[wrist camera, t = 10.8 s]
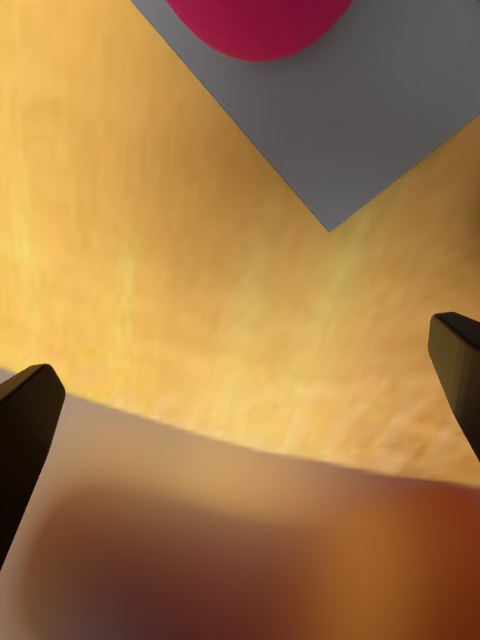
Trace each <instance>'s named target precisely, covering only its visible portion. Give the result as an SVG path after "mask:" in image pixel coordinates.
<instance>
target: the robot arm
mask: <svg viewBox="0 0 480 640" xmlns="http://www.w3.org/2000/svg"><path fill="white" fill-rule="evenodd" d="M428 351H429V355H430V358H431V360H432V363H433V365H434V368H435V370H436V373H437V375H438V378H439V380H440V383H441V385H442V388H443V390H444V392H445V395H446V397H447V400H448V402H449V405H450V407H451V409H452V412H453V414H454V416H455V418H456V420H457V422H458V424H459V426H460V427H461V429H462V431H463V433H464V435H465V436H466V438H467V440H468V442H469V444H470V445H471V447H472V449H473V451H474V453H475V454H476V456H477V458H478V460H479V462H480V322H478V321H475V320H473V319H470V318H468V317H465V316H463V315H460V314H458V313H455V312H446V313H438V314H434V315H433V316H432V318H431V321H430V330H429V340H428ZM64 400H65V388H64V386H63V384H62V383H61V381H60V379H59V377H58V376H57V374H56V372H55V370H54V369H53V367H52V366H51V365H49V364H38V365H32V366H30V367H28V368H26V369H25V370H23V371H21V372H20V373H18V374H16V375H15V376H13V377H11V378H10V379H8V380H6V381H5V382H3V383H1V384H0V571H1V568H2V566H3V563H4V561H5V558H6V556H7V553H8V551H9V549H10V546H11V544H12V541H13V539H14V536H15V534H16V532H17V529H18V527H19V524H20V522H21V519H22V517H23V514H24V512H25V509H26V507H27V505H28V502H29V500H30V497H31V495H32V492H33V490H34V487H35V485H36V482H37V480H38V478H39V475H40V473H41V470H42V468H43V466H44V463H45V461H46V458H47V455H48V453H49V449H50V447H51V443H52V440H53V437H54V433H55V430H56V427H57V423H58V420H59V416H60V413H61V410H62V406H63V403H64Z"/></svg>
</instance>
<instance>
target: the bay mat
mask: <svg viewBox="0 0 480 640" xmlns="http://www.w3.org/2000/svg"><path fill="white" fill-rule="evenodd" d="M131 1H132V2H133V3H134V5H135V6H136V7H137V8H138V9H139V10H140V12H141V13H142V14H143V15H144V16H145V18H146V19H147V20H148V21H149V22H150V23H151V25H152V26H153V27H154V28H155V29H156V30H157V32H158V33H159V34H160V35H161V36H162V37H163V39H164V40H165V41H166V42H167V43H168V44H169V46H170V47H171V48H172V49H173V50H174V51H175V53H176V54H177V55H178V56H179V57H180V59H181V60H182V61H183V62H184V63H185V64H186V66H187V67H188V68H189V69H190V70H191V71H192V73H193V74H194V75H195V76H196V77H197V78H198V80H199V81H200V82H201V83H202V84H203V85H204V87H205V88H206V89H207V90H208V91H209V92H210V94H211V95H212V96H213V97H214V98H215V100H216V101H217V102H218V103H219V104H220V105H221V107H222V108H223V109H224V110H225V111H226V112H227V114H228V115H229V116H230V117H231V118H232V119H233V121H234V122H235V123H236V124H237V125H238V126H239V128H240V129H241V130H242V131H243V132H244V133H245V135H246V136H247V137H248V138H249V139H250V141H251V142H252V143H253V144H254V145H255V146H256V148H257V149H258V150H259V151H260V152H261V153H262V155H263V156H264V157H265V158H266V159H267V160H268V162H269V163H270V164H271V165H272V166H273V167H274V169H275V170H276V171H277V172H278V173H279V174H280V176H281V177H282V178H283V179H284V180H285V182H286V183H287V184H288V185H289V186H290V187H291V189H292V190H293V191H294V192H295V193H296V194H297V196H298V197H299V198H300V199H301V200H302V201H303V203H304V204H305V205H306V206H307V207H308V208H309V210H310V211H311V212H312V213H313V214H314V215H315V217H316V218H317V219H318V220H319V221H320V223H321V224H322V225H323V226H324V227H325V228H326V230H327V231H328V232H331V231H332V230H333V229H334V228H336V227H337V226H338V225H339V224H341V223H342V222H343V221H344V220H346V219H347V218H348V217H350V216H351V215H352V214H353V213H355V212H356V211H357V210H358V209H360V208H361V207H362V206H363V205H365V204H366V203H367V202H368V201H370V200H371V199H372V198H374V197H375V196H376V195H377V194H379V193H380V192H381V191H382V190H384V189H385V188H386V187H387V186H389V185H390V184H391V183H392V182H394V181H395V180H396V179H398V178H399V177H400V176H401V175H403V174H404V173H405V172H406V171H408V170H409V169H410V168H411V167H413V166H414V165H415V164H417V163H418V162H419V161H420V160H422V159H423V158H424V157H425V156H427V155H428V154H429V153H430V152H432V151H433V150H434V149H435V148H437V147H438V146H439V145H441V144H442V143H443V142H444V141H446V140H447V139H448V138H449V137H451V136H452V135H453V134H454V133H456V132H457V131H458V130H460V129H461V128H462V127H463V126H465V125H466V124H467V123H468V122H470V121H471V120H472V119H473V118H475V117H476V116H477V115H478V114H480V1H479V0H353V1H352V3H351V4H350V6H349V7H348V9H347V10H346V12H345V13H344V14H343V15H342V16H341V17H340V18H339V19H338V21H337V22H336V23H335V24H334V25H333V26H332V27H331V28H330V29H329V31H327V32H326V33H325V34H323V35H322V36H321V37H320V38H318V39H317V40H316V41H314V42H313V43H312V44H311V45H309V46H307V47H305V48H304V49H302V50H300V51H298V52H296V53H294V54H291V55H288V56H285V57H283V58H280V59H275V60H268V61H245V60H241V59H237V58H233V57H230V56H227V55H225V54H223V53H221V52H219V51H217V50H215V49H213V48H212V47H210V46H209V45H208V44H206V43H205V42H203V41H202V40H201V39H199V38H198V37H197V36H196V35H195V34H194V33H193V32H192V31H191V30H190V29H189V28H188V27H187V26H186V25H185V24H184V23H183V22H182V21H181V20H180V19H179V17H178V16H177V15H176V13H175V12H174V11H173V9H172V8H171V7H170V5H169V4H168V2H167V1H166V0H131Z"/></svg>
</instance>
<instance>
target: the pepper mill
mask: <svg viewBox="0 0 480 640" xmlns="http://www.w3.org/2000/svg"><path fill="white" fill-rule="evenodd" d="M166 1H167V2H168V4H169V5H170V7H171V8H172V9H173V11H174V12H175V13H176V15H177V16H178V17H179V19H180V20H181V21H182V22H183V23H184V24H185V25H186V26H187V27H188V28H189V29H190V30H191V31H192V32H193V33H194V34H195V35H196V36H197V37H198V38H199V39H201V40H202V41H203V42H205V43H206V44H208V45H209V46H210V47H212V48H213V49H215V50H217V51H219V52H221V53H223V54H225V55H227V56H230V57H233V58H237V59H241V60H245V61H268V60H275V59H280V58H283V57H285V56H288V55H291V54H294V53H296V52H298V51H300V50H302V49H304V48H305V47H307V46H309V45H311V44H312V43H313V42H314V41H316V40H317V39H318V38H320V37H321V36H322V35H323V34H325V33H326V32H327V31H329V29H330V28H331V27H332V26H333V25H334V24H335V23H336V22H337V21H338V19H339V18H340V17H341V16H342V15H343V14H344V13H345V12H346V10H347V9H348V7H349V6H350V4H351V3H352V1H353V0H166Z"/></svg>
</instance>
